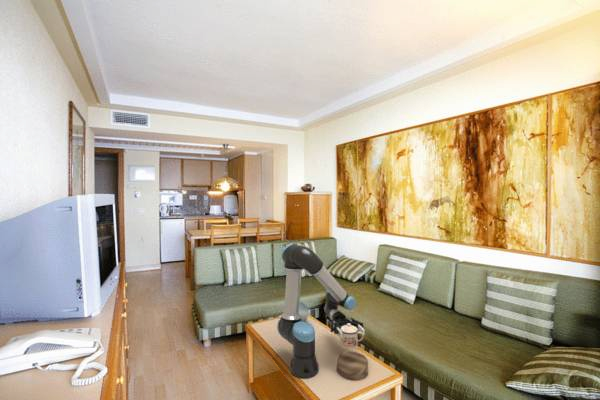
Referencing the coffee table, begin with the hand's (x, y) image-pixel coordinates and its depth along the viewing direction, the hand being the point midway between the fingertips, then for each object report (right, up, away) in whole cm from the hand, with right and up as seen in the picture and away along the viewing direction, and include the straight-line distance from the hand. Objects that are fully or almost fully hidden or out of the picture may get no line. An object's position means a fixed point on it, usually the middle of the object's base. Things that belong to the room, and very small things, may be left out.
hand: (353, 334), depth 150 cm
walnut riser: (0, -20, +1) cm, 20 cm away
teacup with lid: (0, -7, +2) cm, 7 cm away
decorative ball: (-29, -20, +61) cm, 70 cm away
